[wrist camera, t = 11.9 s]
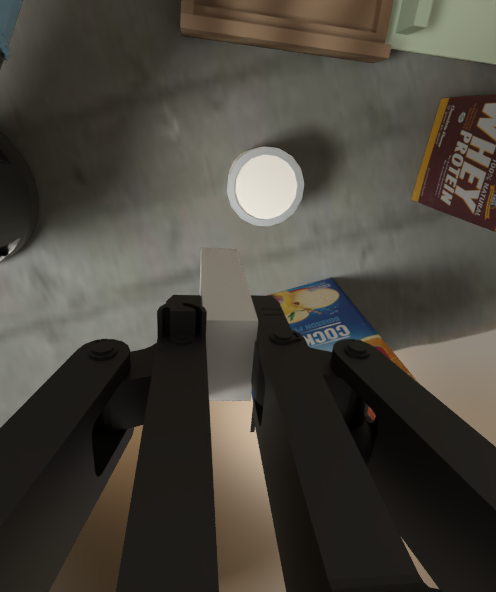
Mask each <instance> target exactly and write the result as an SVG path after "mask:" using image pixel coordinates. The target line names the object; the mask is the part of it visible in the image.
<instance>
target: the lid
mask: <svg viewBox="0 0 496 592" xmlns="http://www.w3.org/2000/svg"><path fill="white" fill-rule="evenodd" d="M385 44H389V45H392V46H391V49H392V50H398V51H405V52H411V53H418V54H425V55H431V56H438V57H444V58H451V59H457V60H464V61H471V62H477V63H484V64H490V65H496V0H394V2H393V7H392V11H391V16H390V21H389V26H388V31H387V36H386V40H385Z"/></svg>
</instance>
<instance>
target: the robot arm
mask: <svg viewBox="0 0 496 592" xmlns="http://www.w3.org/2000/svg"><path fill="white" fill-rule="evenodd" d="M22 1H23V0H0V69H1V66H2V64H3V61H4V60H8V59H9V56H10V48H9V46H8V45H9V42H10V39H11V36H12V33H13V29H14V26H15V23H16V20H17V17H18V14H19V11H20V8H21V5H22ZM37 216H38V196H37V190H36V186H35V182H34V179H33V177H32V174H31V172H30V170H29V168H28V166H27V164H26V162H25V161H24V159H23V158H22V156H21V155H20V153H19V152H18V151H17V149H16V148H15V147H14V146H13V145H12V144H11V142H10V141H9V140H8V139H7V138H6V137H5V136H3V135H2V134H1V133H0V263H2V262H3V261H5V260H7V259H8V258H9V257H11V256H12V255H13V254H15V253H16V252H17V251H19V250H20V249H21V248H22V247H23V246H24V245H25V243H26V242H27V241H28V239H29V238H30V236H31V234H32V232H33V230H34V228H35V225H36V221H37ZM157 323H158V339H157V343H156V344H154V345H153V346H151V347H148V348H146V349H142V350H138V351H132V352H130V349H129V347H128V345H127V344H125V343H124V342H122V341H118V340H114V339H101V340H100V339H99V340H95V341H92V342H89V343H87V344H84V345H83V346H82V347H80V348H79V349H78V350H77V351H76V352H75V353H74V354H73V355H72V356H71V357H70V358H69V359H68V360H67V361H66V362H65V363H64V364H63V365H62V366H61V367H60V368H59V369H58V370H57V371H56V372H55V373H54V374H53V375H52V376H51V377H50V378H49V379H48V380H47V381H46V382H45V383H44V384H43V385H42V386H41V387H40V388H39V389H38V390H37V391H36V392H35V393H34V394H33V395H32V396H31V397H30V398H29V399H28V401H27V402H26V403H25V404H24V405H23V406H22V407H21V408H20V409H19V410H18V411H17V412H16V413H15V414H14V415H13V416H12V417H11V418H10V419H9V420H8V421H7V422H6V423H5V424H4V425H3V426H2V427H1V428H0V592H49V590H50V588H51V586H52V584H53V583H54V581H55V579H56V577H57V575H58V573H59V571H60V570H61V568H62V566H63V564H64V562H65V560H66V558H67V556H68V555H69V553H70V550H71V549H72V547H73V545H74V543H75V542H76V540H77V538H78V536H79V534H80V532H81V530H82V528H83V527H84V525H85V523H86V521H87V519H88V517H89V515H90V514H91V511H92V510H93V508H94V506H95V504H96V502H97V500H98V499H99V497H100V495H101V493H102V491H103V489H104V487H105V485H106V484H107V482H108V480H109V478H110V476H111V474H112V473H113V471H114V469H115V467H116V465H117V463H118V461H119V459H120V458H121V456H122V454H123V452H124V450H125V448H126V446H127V444H128V443H129V441H130V439H131V437H132V435H133V431H134V427H136V426H140V425H143V431H142V437H141V443H140V449H139V455H138V461H137V467H136V473H135V479H134V485H133V491H132V498H131V503H130V510H129V516H128V522H127V528H126V534H125V541H124V546H123V553H122V558H121V564H120V570H119V576H118V582H117V588H116V592H219V586H218V566H217V546H216V527H215V507H214V488H213V468H212V449H211V430H210V410H209V401H250V400H251V392H252V390H253V394H254V401H253V412H252V422H251V432H254V430H255V427H256V433H257V438H258V443H259V448H260V454H261V459H262V465H263V470H264V475H265V481H266V486H267V491H268V496H269V502H270V507H271V513H272V518H273V523H274V528H275V534H276V539H277V544H278V550H279V555H280V561H281V566H282V571H283V577H284V582H285V587H286V592H496V447H495V446H494V445H493V444H491V443H490V442H489V441H488V440H487V439H485V438H484V437H483V436H482V435H481V434H479V433H478V432H477V431H476V430H475V429H473V428H472V427H470V425H469V424H467V423H466V422H465V421H464V420H462V419H461V418H460V417H459V416H458V415H456V414H455V413H454V412H453V411H452V410H450V409H449V408H448V407H447V406H446V405H444V404H443V403H442V402H441V401H440V400H438V399H437V398H436V397H435V396H433V395H432V394H431V393H430V392H428V391H427V390H426V389H425V388H424V387H423V386H421V385H420V384H419V383H418V382H417V381H415V380H414V379H413V378H412V377H411V376H409V375H408V374H407V373H406V372H405V371H403V370H402V369H401V368H400V367H399V366H397V365H396V364H395V363H394V362H392V361H391V360H390V359H389V358H388V357H386V356H385V355H384V354H383V353H382V352H380V351H379V350H378V349H377V348H375V347H374V346H372V345H371V344H369V343H366V342H363V341H362V340H358V339H357V340H356V339H343V340H339V341H337V342H336V343H335V344H333V350H332V352H330V351H325V350H319V349H315V348H311V347H309V346H308V344H307V342H306V340H305V338H304V337H303V336H302V335H301V334H300V333H298V332H297V331H295V330H292V329H291V327H290V325H289V323H288V321H287V318H286V316H285V314H284V312H283V310H282V307H281V305H280V303H279V302H278V301H277V300H276V299H274V298H273V297H272V296H251V295H250V292H249V289H248V285H247V282H246V279H245V276H244V272H243V269H242V266H241V262H240V259H239V256H238V253H237V249H223V248H201V263H200V295H173V296H172V297H171V298H169V299H168V300H167V301H166V304H164V305H162V306H161V307H160V308H159V309H158V311H157ZM369 407H370V408H371V409H372V411H373V412H374V413H375V419H374V420H372V419H371V418H370V417H369V416H368V414H367V413H368V409H369ZM401 537H402V539H403V540H404V541H405V542H406V544H407V545H408V547H409V548H410V550H411V551H412V552H413V554H414V555H415V556H416V558H417V559H418V560H419V562H420V563H421V564H422V566H423V567H424V569H425V570H426V571H427V573H428V574H429V575H430V577H431V578H432V579H433V581H434V582H435V583H436V585H437V586H438V588H439V589H435V588H429V587H428V586H427V585H426V584H425V583H424V582H423V580H422V579H421V577H420V575H419V574H418V572H417V570H416V568H415V565H414V563H413V561H412V559H411V557H410V555H409V553H408V551H407V549H406V547H405V545H404V543H403V541H402V539H401Z"/></svg>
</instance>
